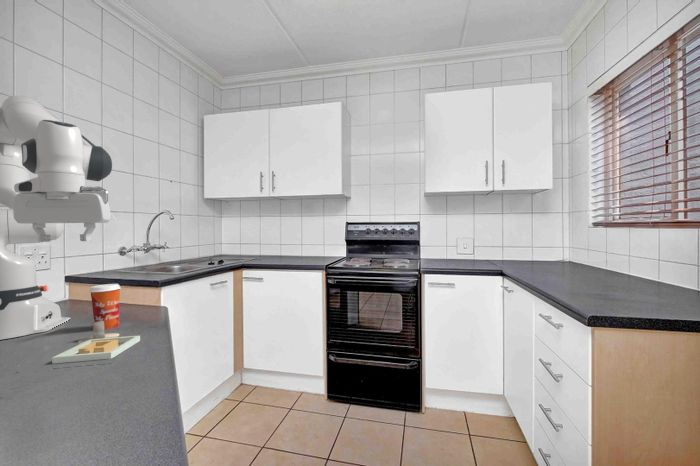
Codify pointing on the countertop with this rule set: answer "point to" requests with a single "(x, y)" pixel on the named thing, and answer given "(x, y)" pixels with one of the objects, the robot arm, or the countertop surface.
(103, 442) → the countertop surface
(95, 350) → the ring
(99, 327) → the stand
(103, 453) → the countertop surface
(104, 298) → the paper cup
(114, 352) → the tray
